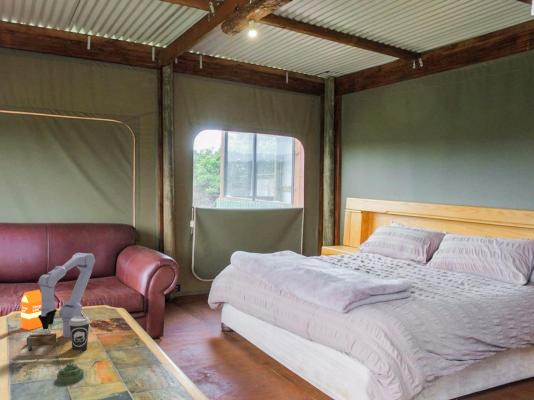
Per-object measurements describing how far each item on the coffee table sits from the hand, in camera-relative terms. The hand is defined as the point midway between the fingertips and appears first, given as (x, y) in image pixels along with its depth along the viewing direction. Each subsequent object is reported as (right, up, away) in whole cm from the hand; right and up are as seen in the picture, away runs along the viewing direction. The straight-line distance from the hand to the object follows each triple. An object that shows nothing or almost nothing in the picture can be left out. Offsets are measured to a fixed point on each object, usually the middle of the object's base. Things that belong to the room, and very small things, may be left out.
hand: (48, 326), depth 231 cm
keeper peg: (-4, -10, -9) cm, 14 cm away
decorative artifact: (+27, -11, -38) cm, 48 cm away
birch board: (-2, -10, -5) cm, 11 cm away
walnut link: (-3, -8, 0) cm, 9 cm away
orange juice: (-23, -8, +30) cm, 39 cm away
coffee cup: (+18, -10, -5) cm, 21 cm away
